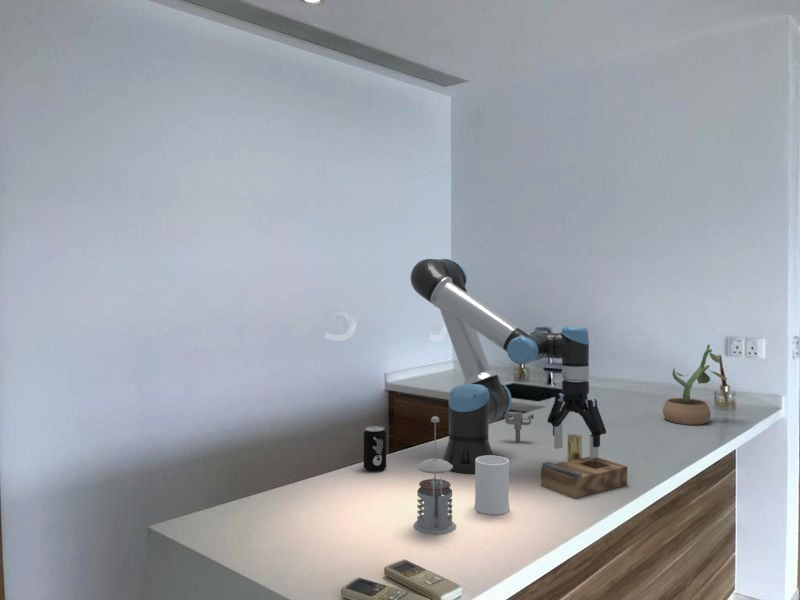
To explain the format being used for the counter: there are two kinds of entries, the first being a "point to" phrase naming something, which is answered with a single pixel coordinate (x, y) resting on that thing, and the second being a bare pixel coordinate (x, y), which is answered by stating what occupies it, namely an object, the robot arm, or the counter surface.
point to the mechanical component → (517, 422)
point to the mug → (492, 485)
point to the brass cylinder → (574, 447)
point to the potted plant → (685, 407)
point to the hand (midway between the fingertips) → (575, 453)
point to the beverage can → (374, 448)
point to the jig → (583, 476)
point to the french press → (434, 498)
